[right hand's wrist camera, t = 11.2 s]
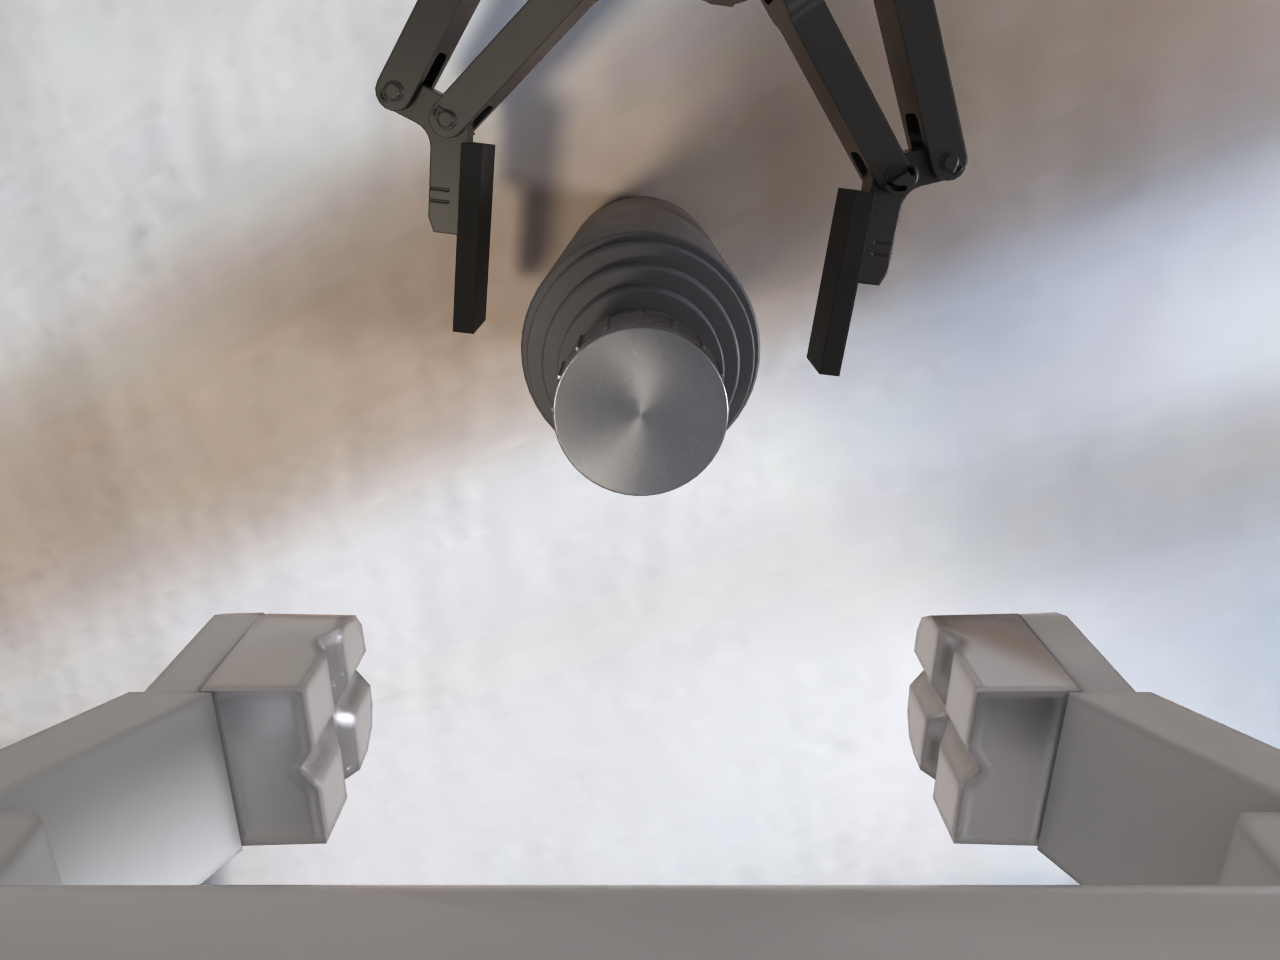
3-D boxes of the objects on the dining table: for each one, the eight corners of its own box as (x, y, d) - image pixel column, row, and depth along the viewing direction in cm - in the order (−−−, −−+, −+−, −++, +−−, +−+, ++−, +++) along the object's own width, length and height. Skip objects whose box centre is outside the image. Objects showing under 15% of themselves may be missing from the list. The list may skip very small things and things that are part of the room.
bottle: (746, 253, 39) (853, 367, 19) (661, 377, 41) (680, 594, 21) (618, 164, 37) (593, 190, 18) (537, 297, 39) (435, 449, 20)
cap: (755, 369, 21) (765, 389, 19) (663, 497, 22) (665, 527, 20) (616, 276, 20) (613, 289, 18) (528, 414, 21) (518, 438, 19)
